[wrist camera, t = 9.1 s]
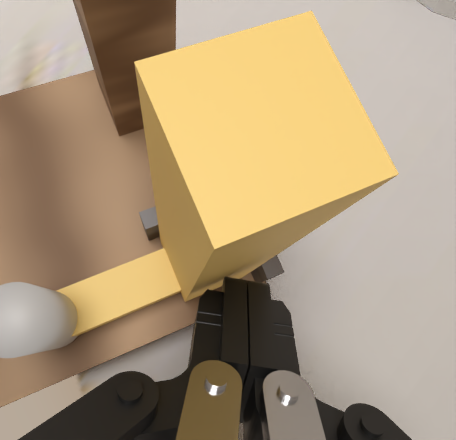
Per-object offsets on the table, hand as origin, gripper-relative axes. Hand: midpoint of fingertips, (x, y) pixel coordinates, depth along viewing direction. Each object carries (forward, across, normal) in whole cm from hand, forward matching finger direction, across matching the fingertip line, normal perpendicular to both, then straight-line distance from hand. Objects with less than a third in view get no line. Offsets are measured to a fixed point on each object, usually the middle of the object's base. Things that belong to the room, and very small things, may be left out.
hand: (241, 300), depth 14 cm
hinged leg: (+4, -4, -4) cm, 7 cm away
